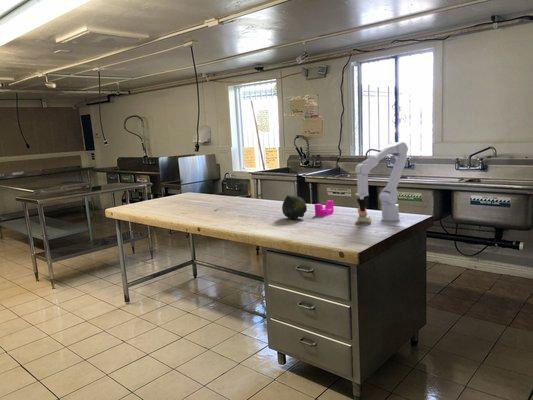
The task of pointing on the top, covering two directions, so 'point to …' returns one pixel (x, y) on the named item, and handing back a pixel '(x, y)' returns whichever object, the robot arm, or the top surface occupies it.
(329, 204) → the toy block
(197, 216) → the top surface
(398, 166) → the robot arm
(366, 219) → the tower top
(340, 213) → the top surface
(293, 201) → the squash
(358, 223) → the tower base
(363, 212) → the terracotta cylinder
